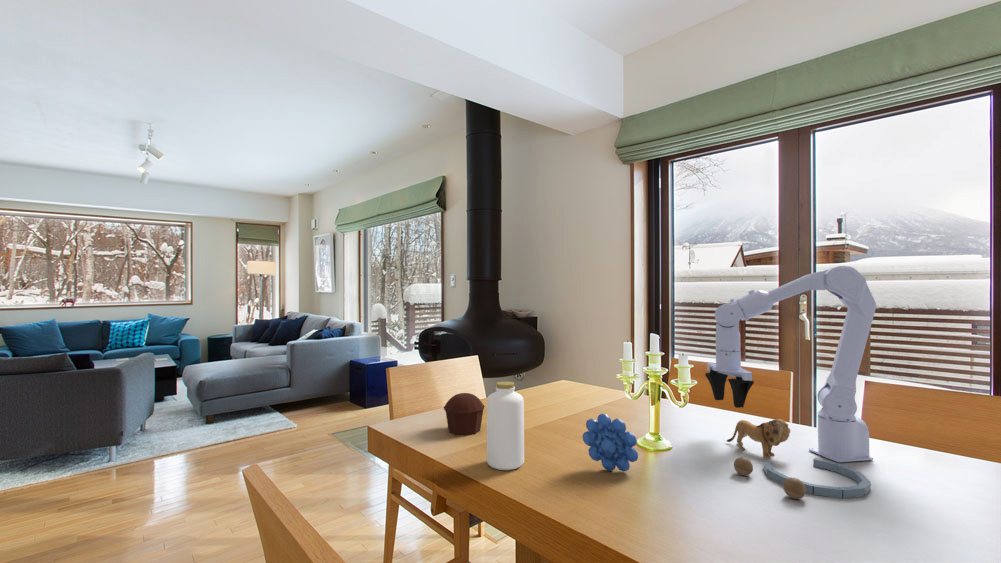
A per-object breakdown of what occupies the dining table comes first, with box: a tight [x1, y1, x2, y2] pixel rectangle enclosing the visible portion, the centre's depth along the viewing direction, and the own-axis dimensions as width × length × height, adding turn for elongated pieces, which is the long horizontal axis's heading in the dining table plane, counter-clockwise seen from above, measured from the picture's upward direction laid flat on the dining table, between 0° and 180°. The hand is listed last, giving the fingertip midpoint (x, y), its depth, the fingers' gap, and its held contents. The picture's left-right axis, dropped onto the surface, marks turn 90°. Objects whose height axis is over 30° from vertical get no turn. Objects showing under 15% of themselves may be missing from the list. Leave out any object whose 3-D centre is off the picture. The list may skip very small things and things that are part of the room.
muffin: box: [443, 392, 486, 437], centre depth 124 cm, size 12×11×10 cm
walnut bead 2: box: [782, 477, 807, 500], centre depth 83 cm, size 4×4×4 cm
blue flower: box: [582, 413, 639, 472], centre depth 95 cm, size 12×7×12 cm, turn 70°
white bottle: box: [486, 381, 525, 471], centre depth 100 cm, size 8×8×18 cm
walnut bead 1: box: [733, 456, 754, 476], centre depth 94 cm, size 4×4×4 cm
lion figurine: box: [725, 418, 791, 460], centre depth 107 cm, size 15×5×9 cm, turn 34°
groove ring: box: [762, 457, 872, 499], centre depth 91 cm, size 17×15×2 cm
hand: (728, 403), depth 116 cm, fingers open, 7 cm apart
